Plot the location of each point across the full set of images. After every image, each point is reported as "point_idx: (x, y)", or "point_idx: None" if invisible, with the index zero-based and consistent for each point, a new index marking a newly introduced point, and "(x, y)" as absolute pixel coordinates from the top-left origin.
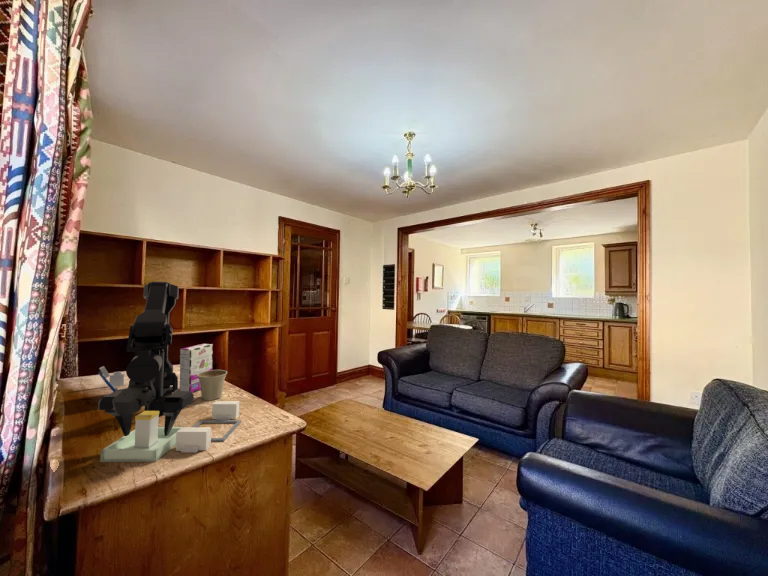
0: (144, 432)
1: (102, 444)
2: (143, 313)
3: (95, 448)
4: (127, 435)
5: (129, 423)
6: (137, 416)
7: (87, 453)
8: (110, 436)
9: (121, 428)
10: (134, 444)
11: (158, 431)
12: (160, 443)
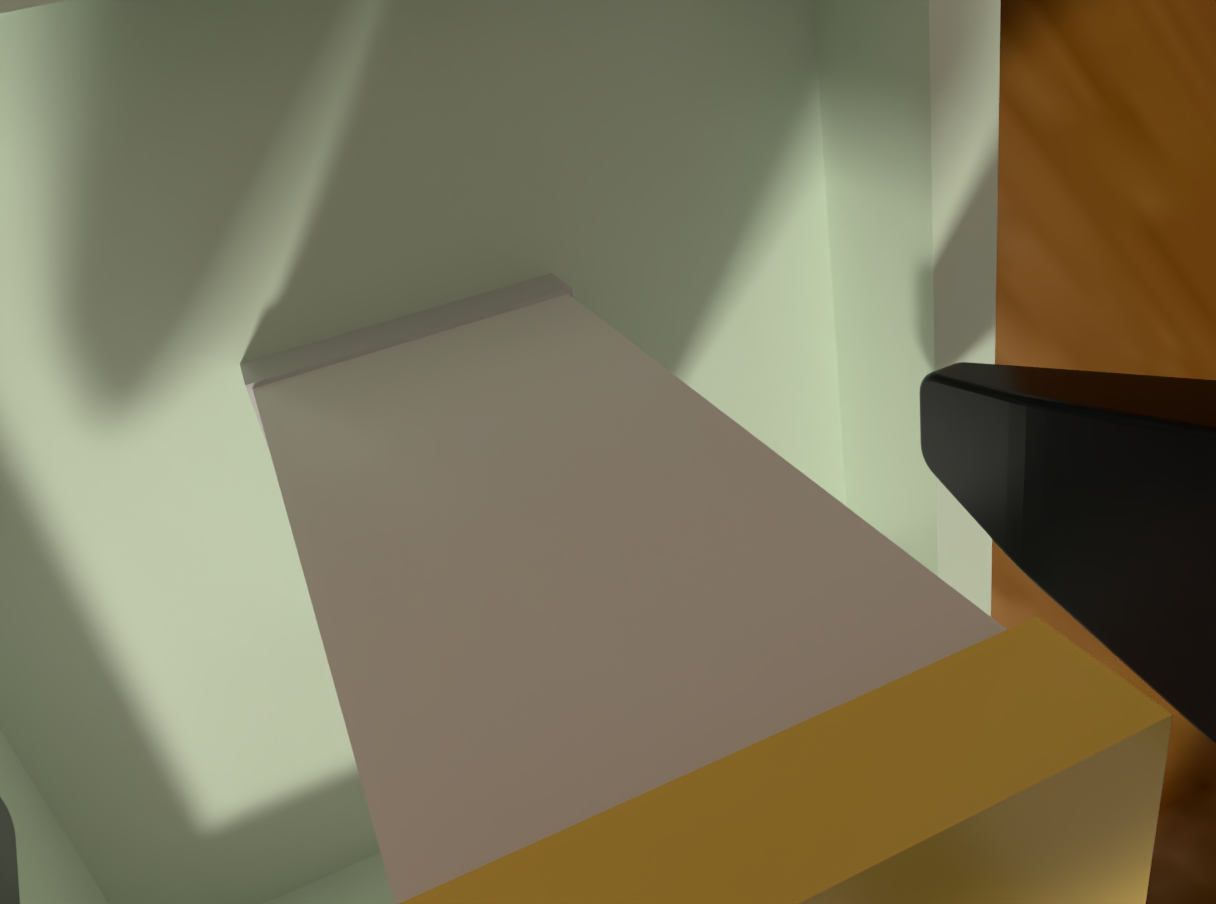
0: (462, 512)
1: (1176, 302)
2: None
3: (1193, 178)
4: None
5: (1131, 593)
6: (1071, 767)
7: (1208, 14)
8: None
9: (1160, 381)
10: None
11: None
12: (238, 620)
